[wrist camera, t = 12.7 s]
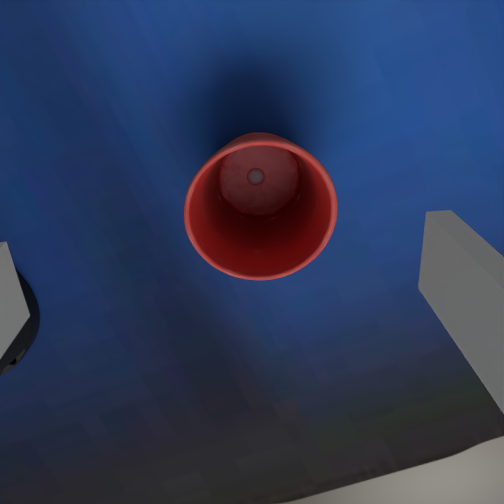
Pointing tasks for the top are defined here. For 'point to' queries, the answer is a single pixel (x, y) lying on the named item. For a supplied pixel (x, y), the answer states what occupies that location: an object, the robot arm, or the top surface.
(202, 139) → the top surface
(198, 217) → the flower pot
